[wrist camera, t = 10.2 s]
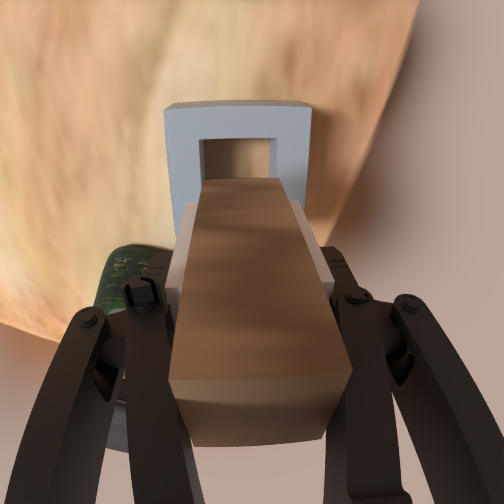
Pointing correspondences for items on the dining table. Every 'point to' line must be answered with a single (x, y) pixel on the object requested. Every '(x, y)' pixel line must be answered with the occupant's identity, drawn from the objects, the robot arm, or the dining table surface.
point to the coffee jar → (111, 301)
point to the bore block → (235, 126)
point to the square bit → (253, 324)
